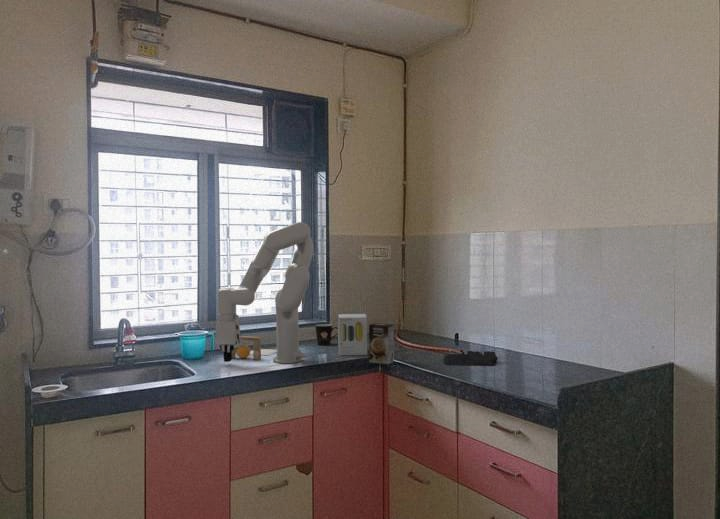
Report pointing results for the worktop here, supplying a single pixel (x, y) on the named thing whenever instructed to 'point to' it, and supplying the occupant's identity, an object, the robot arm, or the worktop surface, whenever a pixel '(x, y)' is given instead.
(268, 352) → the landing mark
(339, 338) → the supplement box
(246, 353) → the ball
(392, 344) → the coffee box
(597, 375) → the worktop surface
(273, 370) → the worktop surface
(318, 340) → the coffee mug
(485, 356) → the dark slate chunk
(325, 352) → the worktop surface
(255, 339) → the bridge
